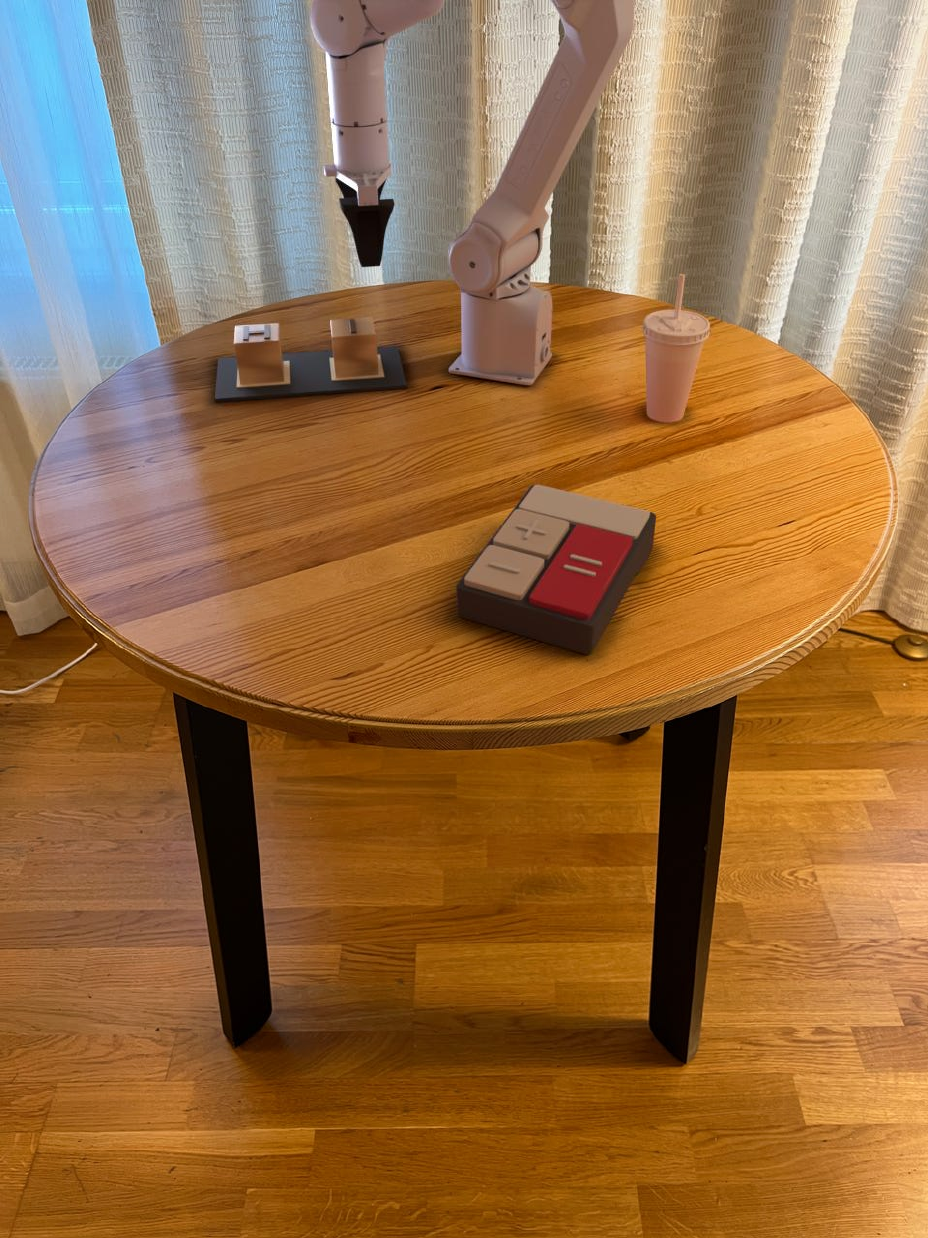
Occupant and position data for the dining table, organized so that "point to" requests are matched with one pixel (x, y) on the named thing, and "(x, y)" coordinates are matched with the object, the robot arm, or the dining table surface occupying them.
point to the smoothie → (672, 358)
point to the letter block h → (259, 353)
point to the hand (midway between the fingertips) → (367, 253)
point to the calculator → (557, 568)
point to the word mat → (310, 377)
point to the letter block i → (354, 347)
